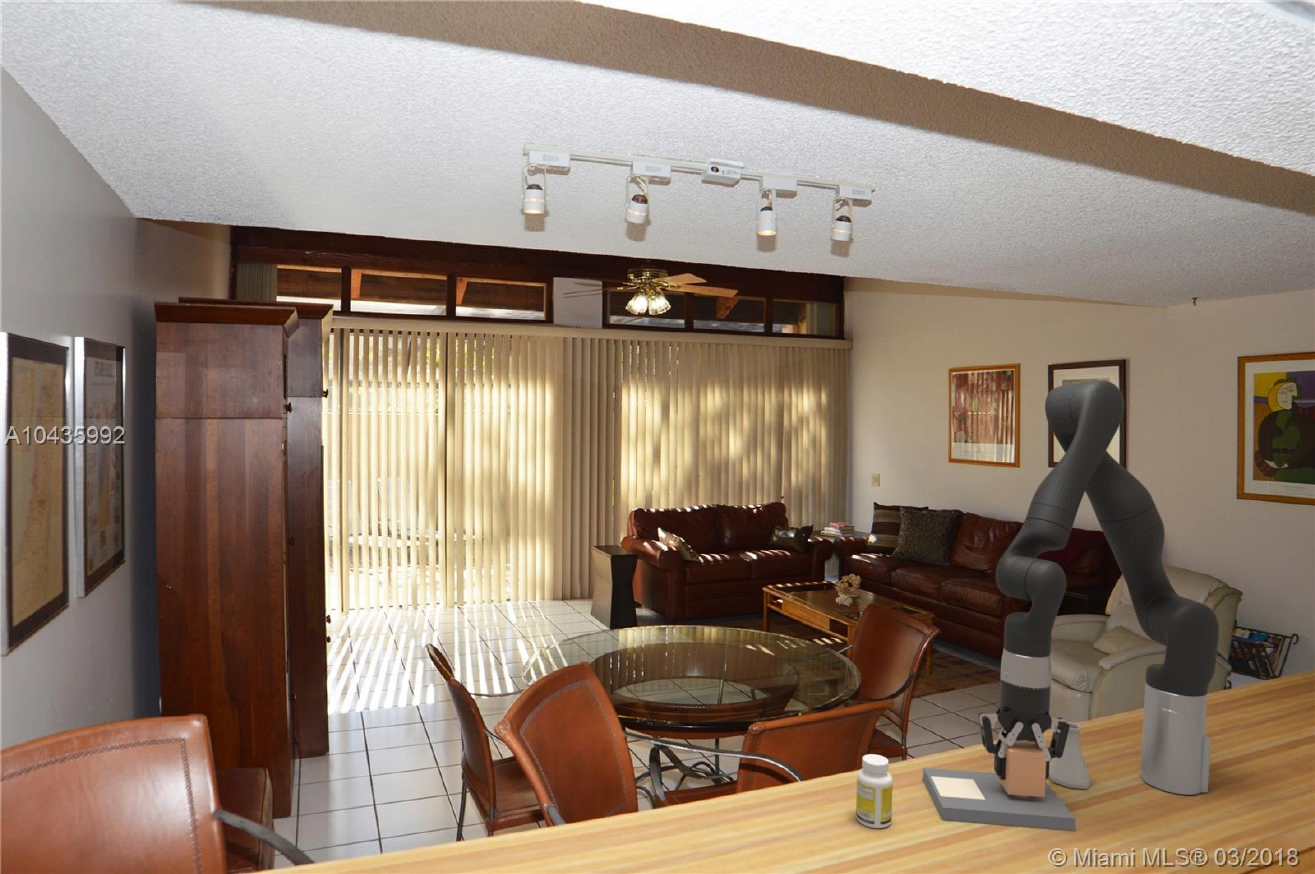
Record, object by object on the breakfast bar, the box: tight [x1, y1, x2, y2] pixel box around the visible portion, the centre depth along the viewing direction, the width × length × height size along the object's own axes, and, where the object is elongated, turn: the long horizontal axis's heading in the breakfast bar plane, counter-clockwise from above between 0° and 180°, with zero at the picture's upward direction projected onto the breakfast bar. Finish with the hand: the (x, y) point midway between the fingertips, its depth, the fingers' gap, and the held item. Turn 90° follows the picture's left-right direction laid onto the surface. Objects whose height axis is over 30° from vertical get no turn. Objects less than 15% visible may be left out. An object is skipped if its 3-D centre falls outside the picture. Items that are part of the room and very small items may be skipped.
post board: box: [922, 767, 1076, 832], centre depth 132 cm, size 20×14×9 cm
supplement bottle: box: [855, 753, 893, 829], centre depth 125 cm, size 5×5×10 cm
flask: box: [1048, 721, 1093, 790], centre depth 141 cm, size 7×7×10 cm
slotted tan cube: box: [998, 740, 1046, 797], centre depth 131 cm, size 6×6×7 cm
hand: (1020, 778), depth 131 cm, fingers closed on slotted tan cube, 5 cm apart
